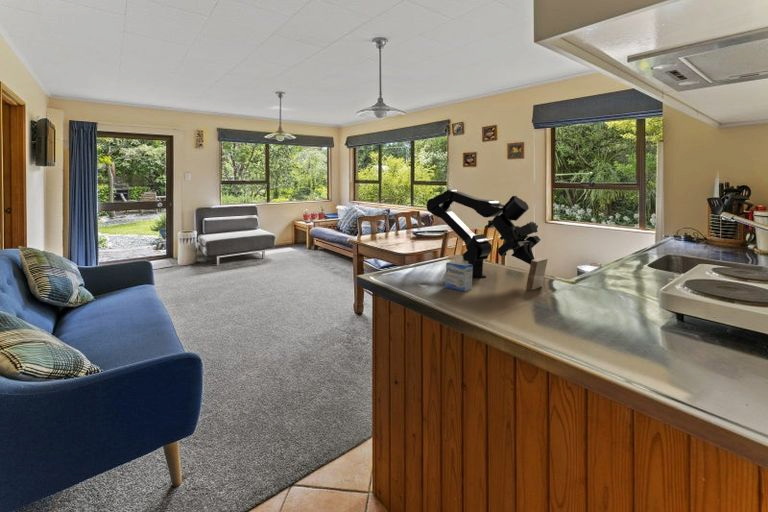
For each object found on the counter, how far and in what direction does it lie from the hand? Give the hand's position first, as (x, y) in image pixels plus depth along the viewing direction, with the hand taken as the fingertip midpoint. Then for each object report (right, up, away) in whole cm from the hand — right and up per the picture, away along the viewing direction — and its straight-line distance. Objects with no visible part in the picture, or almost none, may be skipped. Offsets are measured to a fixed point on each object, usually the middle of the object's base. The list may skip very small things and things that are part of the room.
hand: (534, 265), depth 136 cm
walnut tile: (0, -8, +1) cm, 8 cm away
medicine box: (-25, -8, +1) cm, 26 cm away
